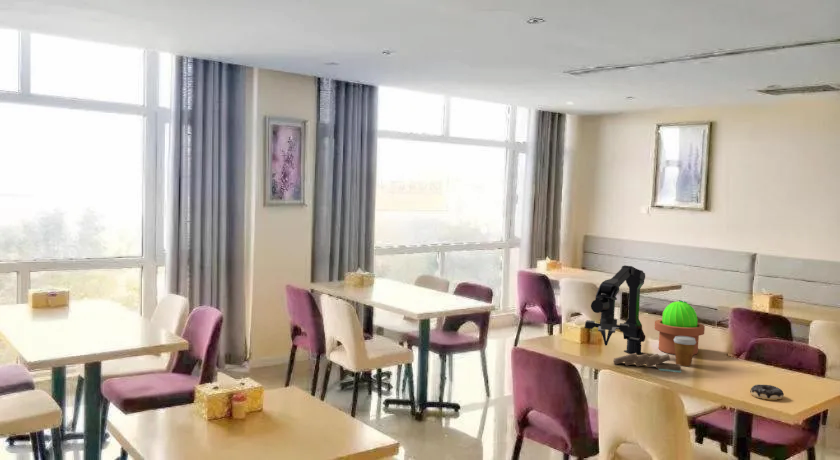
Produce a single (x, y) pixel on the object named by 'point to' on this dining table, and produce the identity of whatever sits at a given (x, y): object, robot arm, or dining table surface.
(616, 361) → the domino
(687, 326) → the potted cactus
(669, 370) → the mat
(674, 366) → the domino
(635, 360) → the domino
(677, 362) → the disposable coffee cup
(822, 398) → the dining table surface
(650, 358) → the domino
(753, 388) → the donut
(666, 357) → the domino
